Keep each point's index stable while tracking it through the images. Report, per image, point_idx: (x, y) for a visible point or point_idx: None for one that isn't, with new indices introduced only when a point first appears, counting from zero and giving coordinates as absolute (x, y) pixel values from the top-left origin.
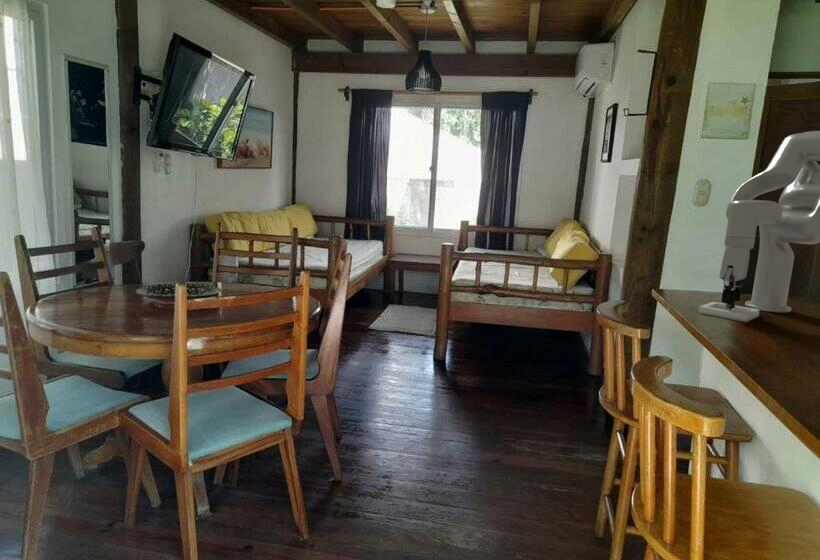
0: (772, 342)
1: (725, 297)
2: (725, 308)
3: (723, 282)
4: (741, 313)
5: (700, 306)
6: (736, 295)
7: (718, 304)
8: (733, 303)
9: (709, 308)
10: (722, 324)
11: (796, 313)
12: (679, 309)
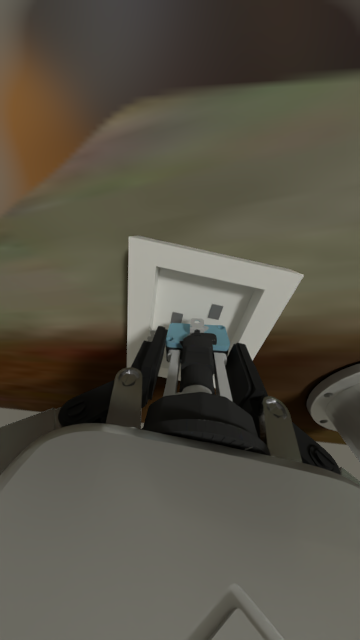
0: (17, 382)
1: (140, 349)
2: (170, 325)
3: (199, 396)
4: None
5: (134, 241)
6: (228, 380)
7: (259, 298)
8: (166, 357)
9: (128, 279)
10: (55, 315)
11: (322, 427)
12: (150, 130)
